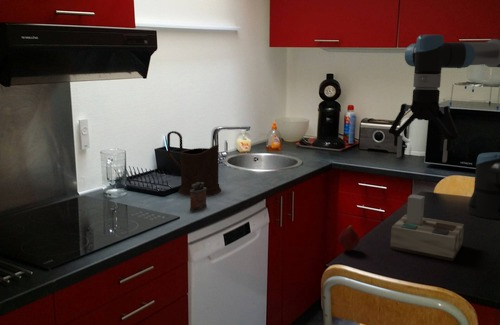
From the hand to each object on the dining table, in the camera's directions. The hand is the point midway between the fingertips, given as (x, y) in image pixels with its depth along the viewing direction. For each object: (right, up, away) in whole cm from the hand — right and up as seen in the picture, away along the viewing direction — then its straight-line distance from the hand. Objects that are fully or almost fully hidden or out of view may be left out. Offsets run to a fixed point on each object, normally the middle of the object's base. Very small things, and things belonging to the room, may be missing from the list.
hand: (421, 159), depth 160 cm
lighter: (-71, -19, +39) cm, 84 cm away
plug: (-1, -25, +5) cm, 26 cm away
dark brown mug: (-76, -13, +66) cm, 102 cm away
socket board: (+2, -27, +1) cm, 27 cm away
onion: (-22, -28, -2) cm, 36 cm away
